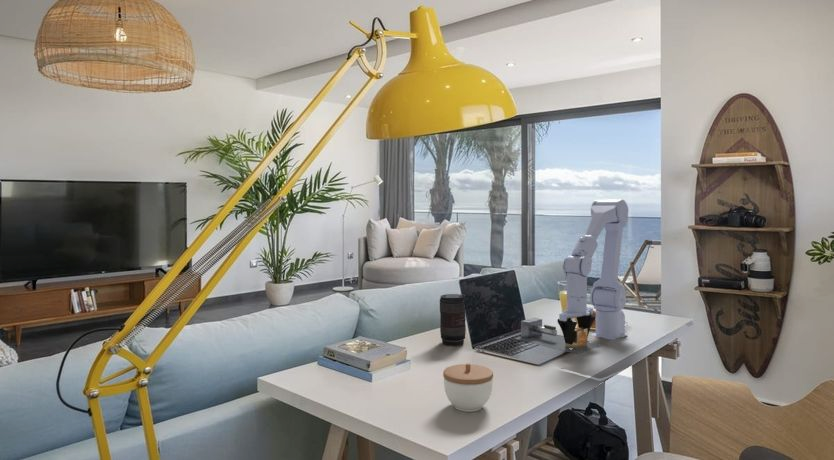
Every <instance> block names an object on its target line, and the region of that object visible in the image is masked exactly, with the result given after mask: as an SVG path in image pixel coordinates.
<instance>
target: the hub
mask: <svg viewBox="0 0 834 460" xmlns="http://www.w3.org/2000/svg"><path fill="white" fill-rule="evenodd" d="M587 329H588V328H584V327H579V326H578V325H576V327H575V331H574V338H573V344H567V343H565V347H568V348H573V349H580V348H583V347H586V346H587V342H588V338H587Z"/></svg>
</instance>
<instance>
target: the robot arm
mask: <svg viewBox="0 0 834 460" xmlns="http://www.w3.org/2000/svg"><path fill="white" fill-rule="evenodd" d="M590 215H591V218H590V221H589V224H588V227H587V229H586V232H585V235H581V236H580V237H579V238H578V240H577V242H576V245H575V246H574V248H573V249H572V252H571V254H570V255H568V256H567V257H565V258H564V260H563V264H562V271H563V273H564V279H565V281H566V309H565V310H564V311H563V312H561V313H559V314H558V316H559V317H558V319H557V324H558V325H559V327H560V330H561V332H562V337H564V340H565V343H567V344H573V338H574V331H575V327H576V326H579V327H584V328H588V329H587V339H588V338H589V334H590V330H591V327H592V324H593V323H594V321H595V332H594V333H591V334H590V336H593V337H598V338H603V339H608V340H616V339H619V338H625V337H627V336H628V333H626V332H625V331H626V328H625V327H626V326H625V325H626V315H625V313H624V311H623V309H624V307H625V306H626V303H627V295H626V286H625V285H624V284H623V283H622V282H621V281H620V280H618V279H619V268H620V267H619V266H620V258H621V248H622V239H623V231H624V230H623V229H624V228H625V227H627V225H628V216H629V207H628V203H627V202H626V200H625V199H622V198H620V199H595V200H593V202H592V204H591V207H590ZM604 229H605V235H604V243H603V244H604V246H603V254H602V255H603V257H602V264H601V265H602V266H601V274H600V278H599V279H598V280H596V281H594V282H593V284H592V289H591V291H590V295H589V301H590V304H591V306H592V307H590V306H589V307H588V305H587V304H588V303H587V301H588V300H587V299H588V298H587V297H588V296H587V295H588V293H587V291H588V290H587V289H588V276H589V274H590V273H591V271H592V262H593V259H592V258H593V257H594V254H595V252H596V250H597V248H598V245H599V244H598V241H597V239H598V238H599V236H600V234H601V233H602V231H603V230H604ZM594 309H595V315H593V314H594ZM573 319H576V321H573Z"/></svg>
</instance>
